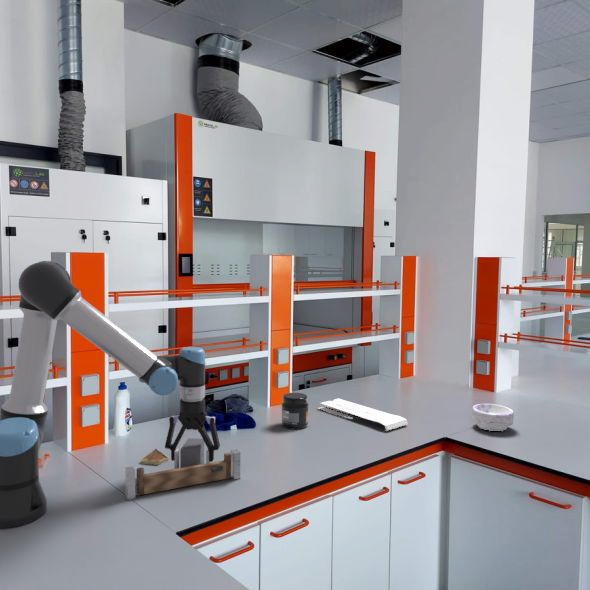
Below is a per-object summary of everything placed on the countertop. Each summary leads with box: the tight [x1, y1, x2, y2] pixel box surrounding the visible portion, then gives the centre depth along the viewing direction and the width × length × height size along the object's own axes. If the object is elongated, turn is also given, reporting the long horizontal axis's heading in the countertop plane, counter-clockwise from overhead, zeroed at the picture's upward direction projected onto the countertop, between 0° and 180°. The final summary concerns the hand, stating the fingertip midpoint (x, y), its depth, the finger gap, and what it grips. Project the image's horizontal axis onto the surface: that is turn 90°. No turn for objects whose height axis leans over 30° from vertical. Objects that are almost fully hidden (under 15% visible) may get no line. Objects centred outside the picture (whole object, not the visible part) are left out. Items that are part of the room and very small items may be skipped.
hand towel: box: [316, 397, 409, 432], centre depth 227 cm, size 12×4×40 cm
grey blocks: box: [124, 448, 241, 501], centre depth 158 cm, size 33×3×8 cm, turn 118°
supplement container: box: [281, 392, 309, 430], centre depth 215 cm, size 10×10×12 cm
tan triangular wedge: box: [140, 448, 169, 466], centre depth 180 cm, size 11×8×2 cm
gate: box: [136, 452, 232, 496], centre depth 158 cm, size 27×3×7 cm, turn 118°
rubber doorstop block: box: [179, 437, 205, 468], centre depth 168 cm, size 5×10×9 cm, turn 178°
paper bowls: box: [471, 403, 515, 432], centre depth 215 cm, size 15×15×8 cm
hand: (192, 471), depth 168 cm, fingers open, 9 cm apart
